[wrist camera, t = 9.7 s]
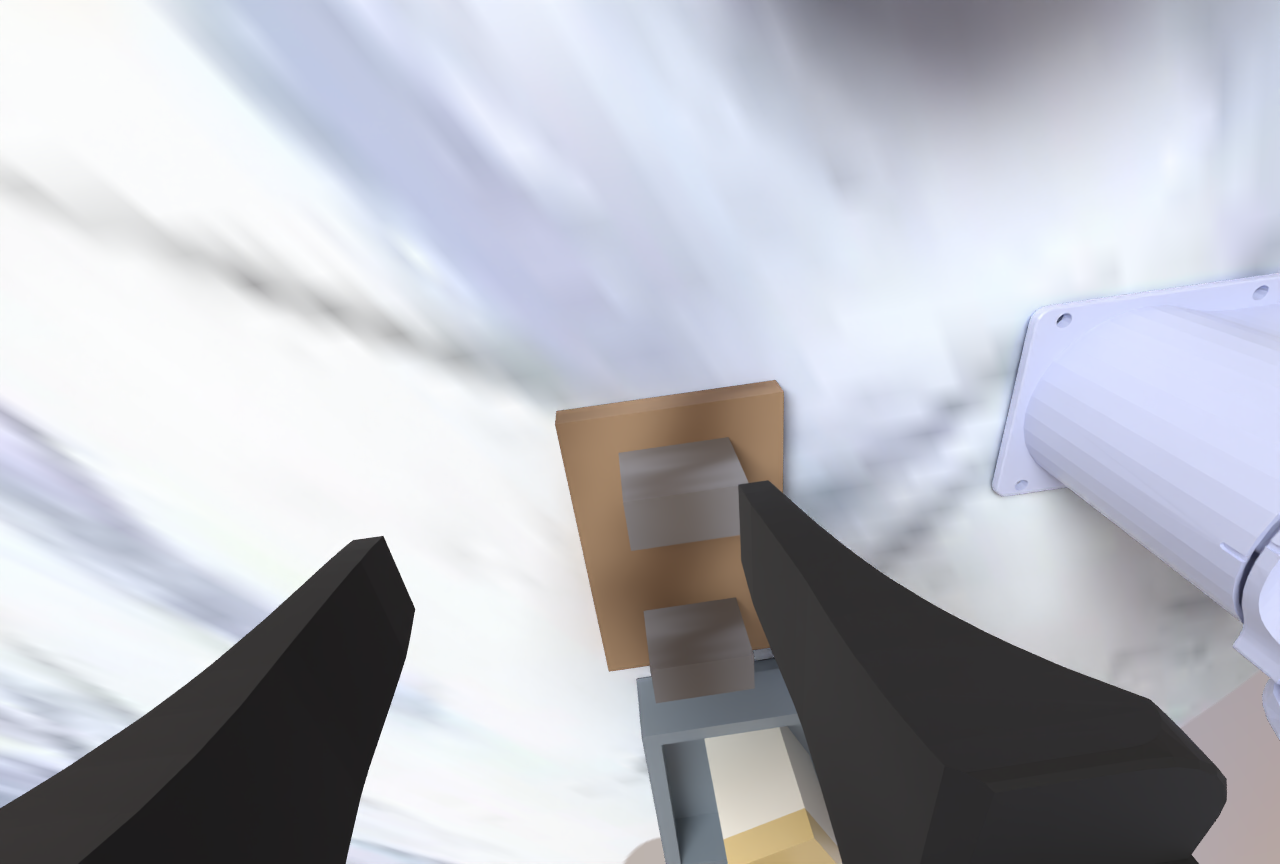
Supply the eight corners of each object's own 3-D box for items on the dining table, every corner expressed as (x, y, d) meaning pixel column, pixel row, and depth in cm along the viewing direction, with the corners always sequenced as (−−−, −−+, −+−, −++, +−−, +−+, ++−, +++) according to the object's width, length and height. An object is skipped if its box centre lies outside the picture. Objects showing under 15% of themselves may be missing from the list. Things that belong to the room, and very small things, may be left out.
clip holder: (775, 380, 21) (813, 433, 17) (775, 628, 27) (802, 704, 24) (556, 411, 21) (550, 471, 17) (608, 653, 27) (611, 733, 24)
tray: (873, 643, 28) (902, 697, 26) (855, 787, 35) (877, 842, 32) (636, 679, 28) (641, 737, 25) (661, 817, 34) (668, 875, 32)
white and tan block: (773, 708, 29) (814, 838, 24) (809, 754, 31) (853, 883, 26) (704, 737, 30) (729, 870, 25) (744, 781, 32) (774, 911, 27)
